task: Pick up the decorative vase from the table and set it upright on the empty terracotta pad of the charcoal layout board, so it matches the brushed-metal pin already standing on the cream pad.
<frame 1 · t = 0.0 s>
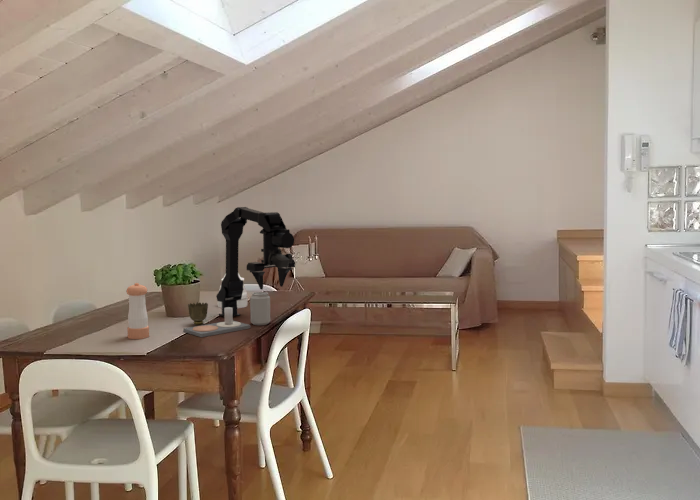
hand: (271, 287, 262), 15 cm above the table, fingers open, 9 cm apart
layout board: (217, 329, 258), on the table
pepper shaker: (138, 337, 247), on the table
decorative vase: (198, 325, 267), on the table
can: (260, 324, 269), on the table
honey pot: (232, 306, 305), on the table
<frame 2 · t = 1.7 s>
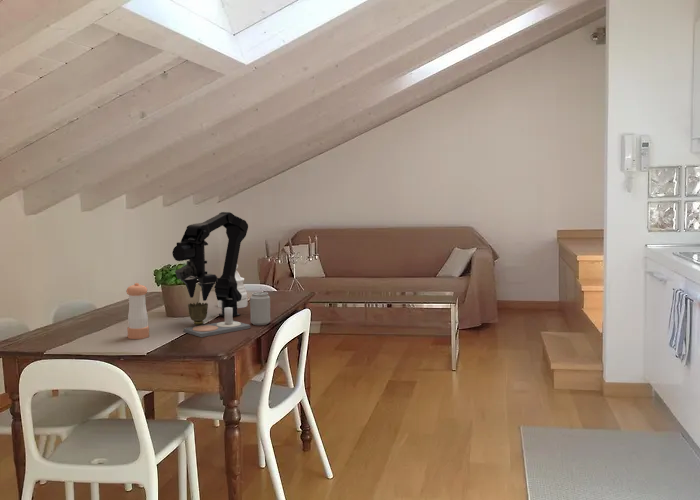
hand: (198, 299, 266), 10 cm above the table, fingers open, 9 cm apart
nothing on the table moved.
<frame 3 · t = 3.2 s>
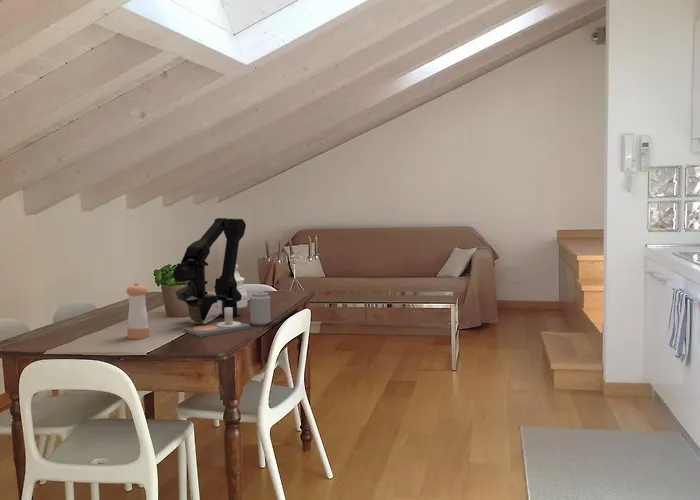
hand: (198, 319, 267), 2 cm above the table, fingers closed on decorative vase, 6 cm apart
decorative vase: (198, 324, 267), on the table, touching gripper
everything else where it was.
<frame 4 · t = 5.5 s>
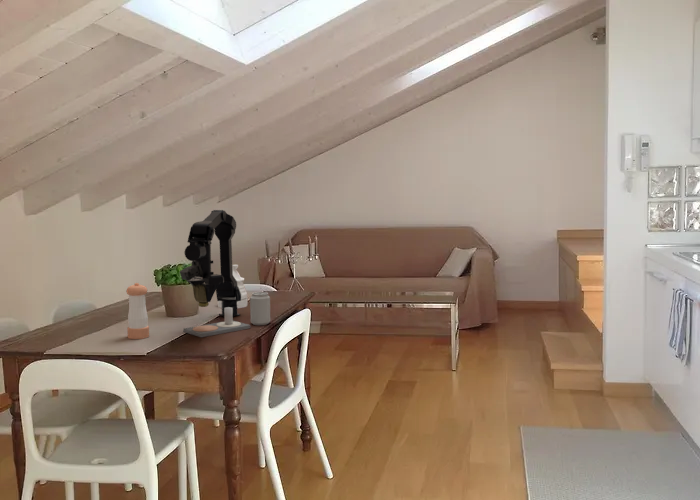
hand: (203, 300, 254), 11 cm above the table, fingers closed on decorative vase, 6 cm apart
decorative vase: (203, 306, 254), point 9 cm above the table, touching gripper
everything else where it was.
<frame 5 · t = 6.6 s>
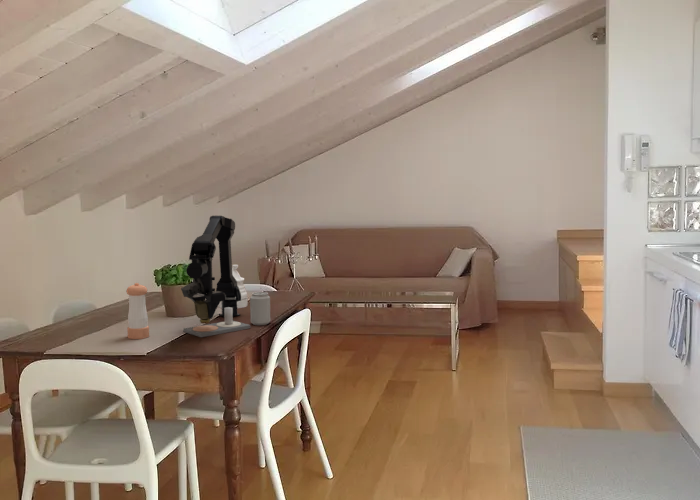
hand: (205, 317, 254), 5 cm above the table, fingers closed on decorative vase, 6 cm apart
decorative vase: (205, 323, 254), point 3 cm above the table, touching gripper
everything else where it was.
when the fingers open (4 cm above the table, at t = 7.7 s): decorative vase stays where it is, resting on layout board.
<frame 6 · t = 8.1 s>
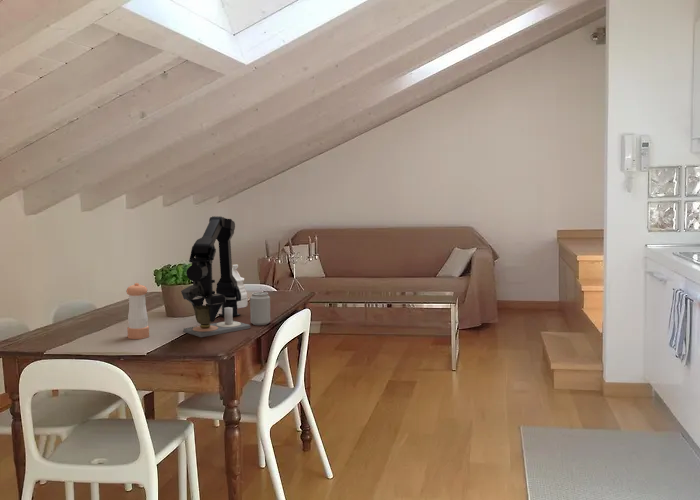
hand: (205, 319, 254), 4 cm above the table, fingers open, 9 cm apart
decorative vase: (205, 328, 255), point 1 cm above the table, touching layout board
everything else where it was.
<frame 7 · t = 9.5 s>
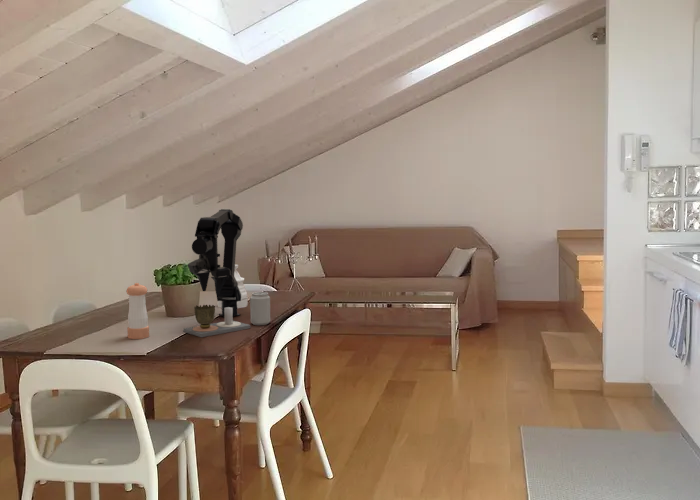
hand: (210, 292, 263), 13 cm above the table, fingers open, 9 cm apart
nothing on the table moved.
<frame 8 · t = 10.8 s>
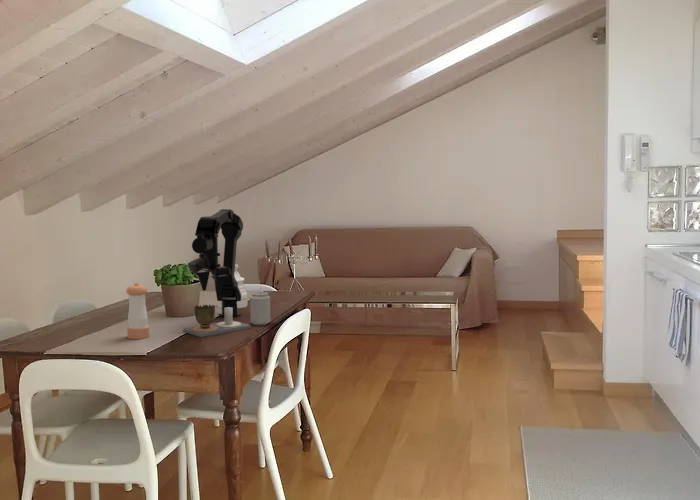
hand: (210, 292, 263), 13 cm above the table, fingers open, 9 cm apart
nothing on the table moved.
at the end: decorative vase 0.2 cm from the target spot on the layout board, point 1.3 cm above the layout board's base; decorative vase tilted 0°; the gripper is holding nothing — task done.
